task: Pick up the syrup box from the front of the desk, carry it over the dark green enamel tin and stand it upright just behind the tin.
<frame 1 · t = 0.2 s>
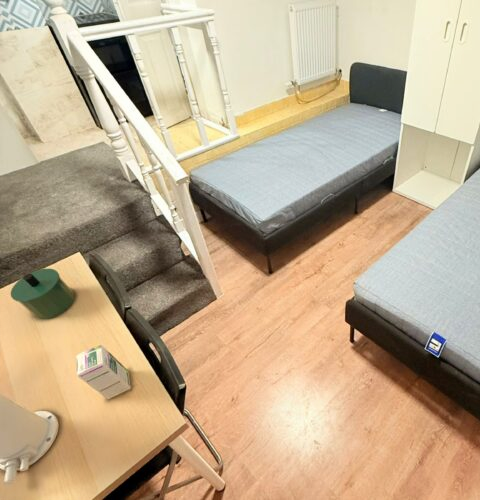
tin lid: (36, 285, 101), point 9 cm above the table, touching tin
syrup box: (118, 385, 88), on the table
tin: (54, 303, 107), on the table
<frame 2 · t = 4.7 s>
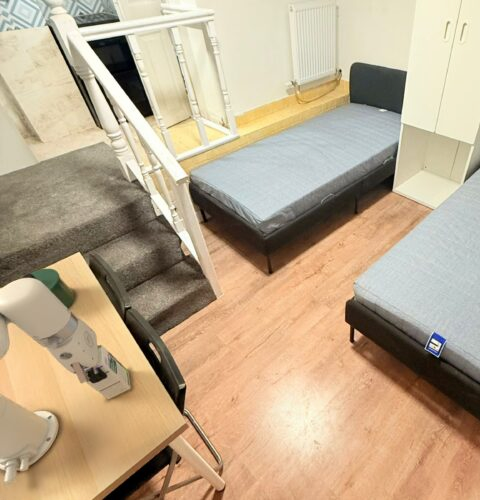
hand: (99, 367, 81), 10 cm above the table, tool pointing down, fingers closed on syrup box, 5 cm apart
syrup box: (118, 385, 88), on the table, touching gripper
everything else where it was.
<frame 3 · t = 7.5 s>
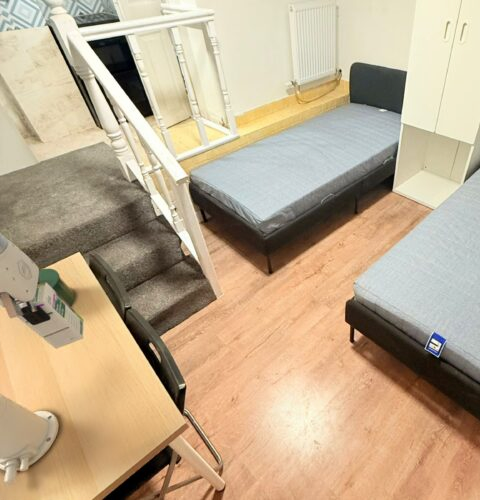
hand: (43, 309, 70), 29 cm above the table, tool pointing down, fingers closed on syrup box, 5 cm apart
syrup box: (70, 334, 77), point 19 cm above the table, touching gripper
everything else where it was.
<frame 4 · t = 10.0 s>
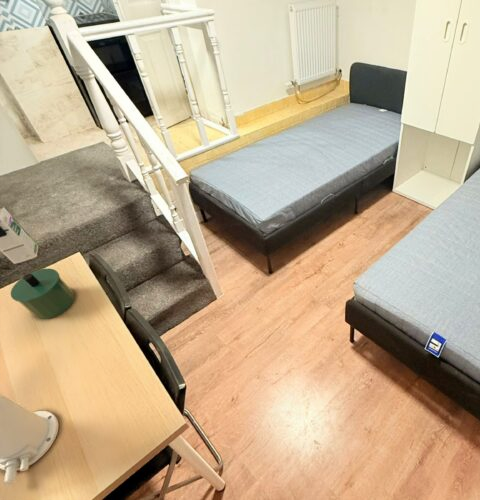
hand: (1, 228, 88), 30 cm above the table, tool pointing down, fingers closed on syrup box, 5 cm apart
syrup box: (27, 255, 95), point 20 cm above the table, touching gripper
everything else where it was.
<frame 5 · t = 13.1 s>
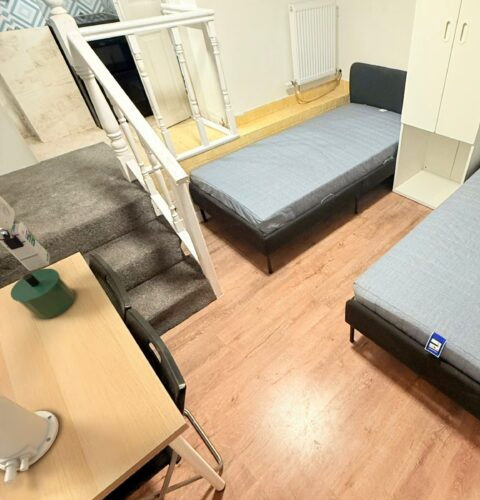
hand: (18, 240, 101), 19 cm above the table, tool pointing down, fingers closed on syrup box, 5 cm apart
syrup box: (40, 263, 108), point 9 cm above the table, touching gripper
everything else where it was.
when the fingers open (10 cm above the table, at t = 15.6 s): syrup box stays where it is, on the table.
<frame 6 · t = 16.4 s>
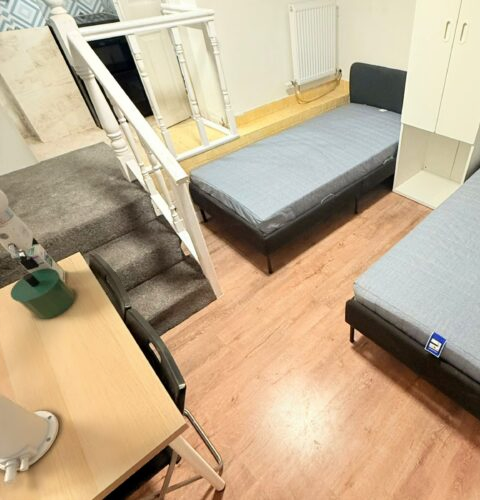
hand: (34, 258, 106), 11 cm above the table, tool pointing down, fingers open, 9 cm apart
syrup box: (56, 281, 115), on the table
everything else where it was.
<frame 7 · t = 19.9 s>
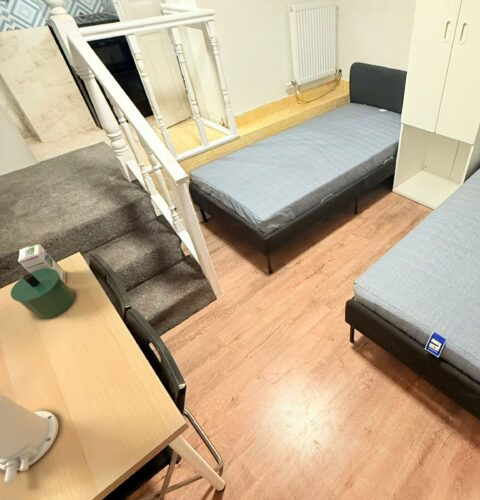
nothing on the table moved.
at the end: syrup box inside the target area on the table beside the tin (0.4 cm from its centre), on the table; syrup box tilted 0°; the gripper is holding nothing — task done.
